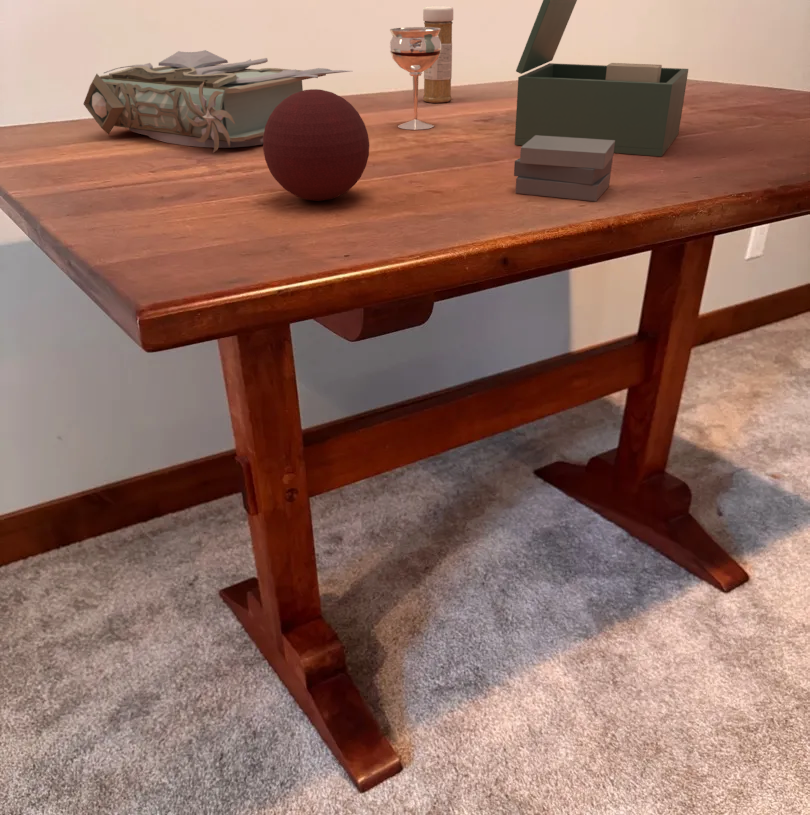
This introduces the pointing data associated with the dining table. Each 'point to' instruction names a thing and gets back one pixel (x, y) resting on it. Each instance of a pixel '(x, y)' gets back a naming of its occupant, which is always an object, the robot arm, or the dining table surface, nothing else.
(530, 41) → the lid
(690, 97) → the dining table surface
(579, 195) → the grey books
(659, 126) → the chest
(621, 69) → the cream book
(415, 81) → the wineglass
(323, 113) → the decorative ball
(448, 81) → the sprinkles bottle
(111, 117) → the ornate book
